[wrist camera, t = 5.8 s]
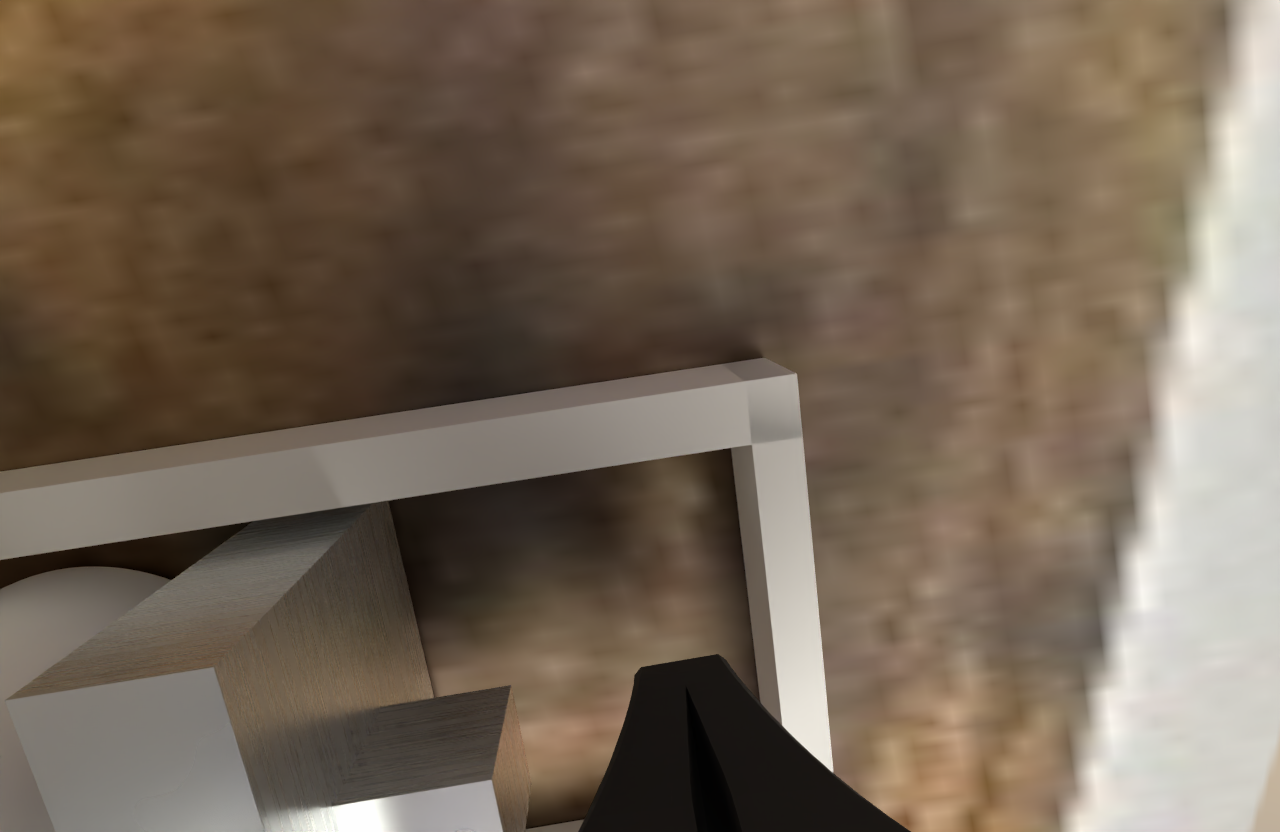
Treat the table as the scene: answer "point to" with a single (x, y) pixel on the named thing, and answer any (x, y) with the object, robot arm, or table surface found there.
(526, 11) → the table surface
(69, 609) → the can
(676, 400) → the grey open tray
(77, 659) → the sliding jaw
